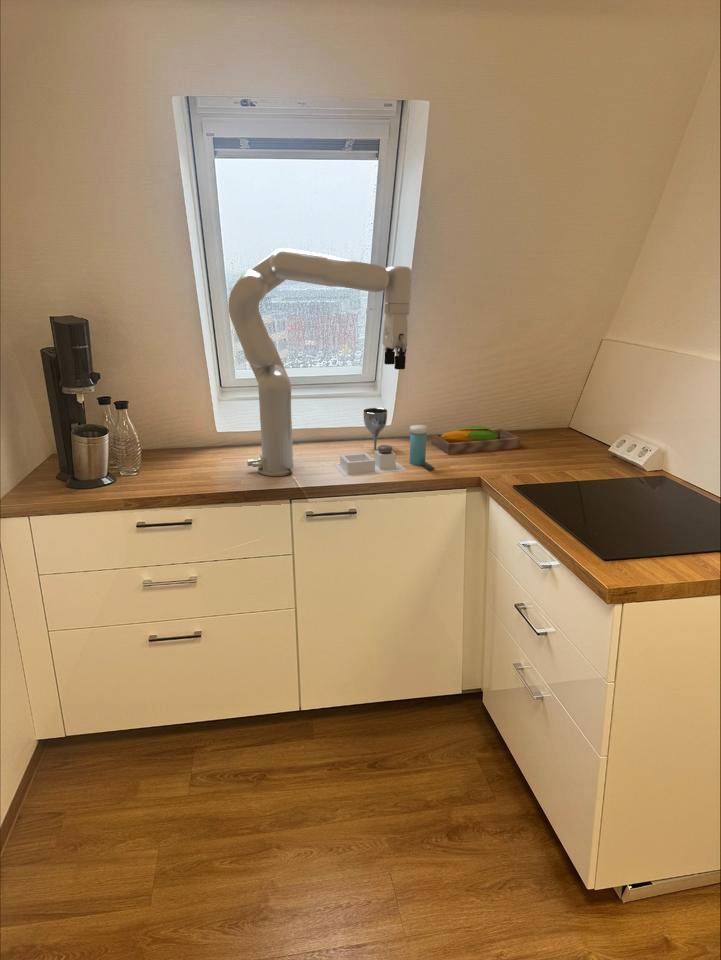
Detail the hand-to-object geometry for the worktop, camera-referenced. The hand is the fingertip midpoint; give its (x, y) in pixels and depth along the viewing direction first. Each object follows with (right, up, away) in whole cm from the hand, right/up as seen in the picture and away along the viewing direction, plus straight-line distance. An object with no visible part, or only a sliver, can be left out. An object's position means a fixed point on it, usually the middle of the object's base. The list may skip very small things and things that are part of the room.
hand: (394, 366), depth 205 cm
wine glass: (-5, -26, +22) cm, 35 cm away
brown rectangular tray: (+30, -23, +31) cm, 49 cm away
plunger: (-3, -30, +3) cm, 30 cm away
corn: (+28, -23, +30) cm, 47 cm away
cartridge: (+8, -30, +7) cm, 32 cm away
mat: (+8, -31, +7) cm, 33 cm away
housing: (-8, -32, +3) cm, 33 cm away
